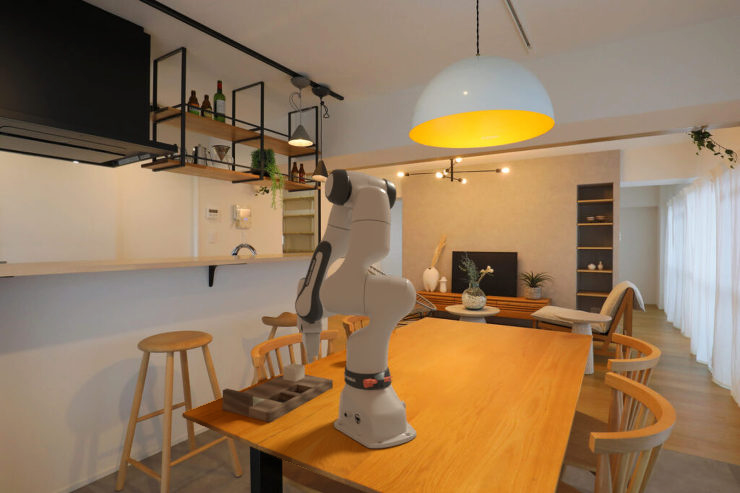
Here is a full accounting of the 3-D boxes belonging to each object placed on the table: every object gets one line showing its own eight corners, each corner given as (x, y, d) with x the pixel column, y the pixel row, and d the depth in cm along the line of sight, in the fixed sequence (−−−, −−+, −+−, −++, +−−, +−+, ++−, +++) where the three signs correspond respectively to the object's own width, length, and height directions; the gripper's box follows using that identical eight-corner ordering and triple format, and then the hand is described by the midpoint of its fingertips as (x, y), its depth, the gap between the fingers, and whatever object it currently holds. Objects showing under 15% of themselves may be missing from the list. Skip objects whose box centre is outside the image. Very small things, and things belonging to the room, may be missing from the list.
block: (292, 375, 139) (292, 363, 139) (304, 377, 137) (304, 365, 137) (283, 379, 135) (283, 367, 135) (295, 381, 133) (295, 369, 133)
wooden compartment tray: (290, 378, 143) (290, 363, 143) (332, 387, 135) (332, 370, 135) (222, 409, 116) (222, 390, 116) (270, 422, 108) (270, 401, 108)
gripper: (298, 317, 152) (298, 354, 153) (303, 329, 132) (303, 372, 133) (315, 316, 154) (315, 353, 154) (322, 328, 134) (322, 370, 134)
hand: (309, 362), depth 143 cm, fingers closed
